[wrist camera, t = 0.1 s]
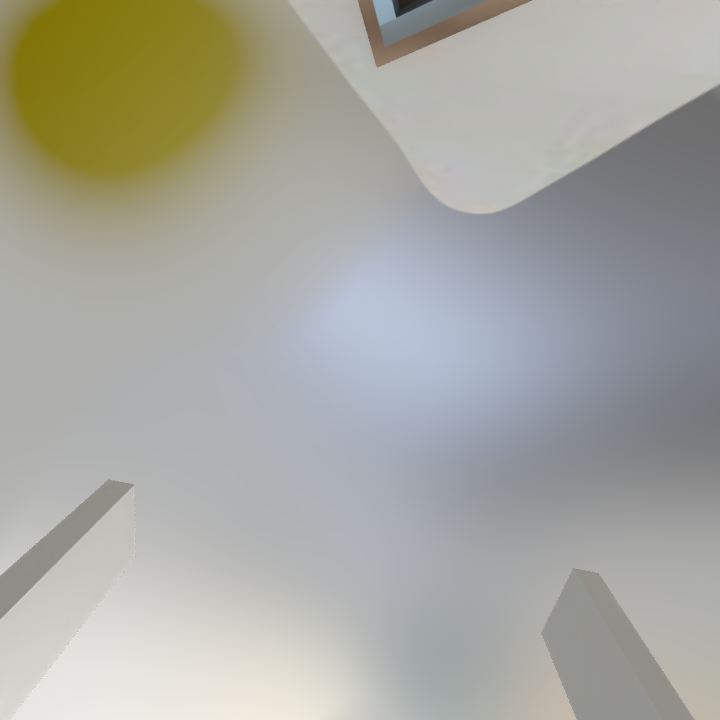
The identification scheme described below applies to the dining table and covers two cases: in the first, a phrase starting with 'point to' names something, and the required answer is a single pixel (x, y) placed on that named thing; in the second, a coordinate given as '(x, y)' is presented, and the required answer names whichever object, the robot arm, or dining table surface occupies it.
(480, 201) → the dining table surface
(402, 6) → the socket board
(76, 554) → the robot arm
